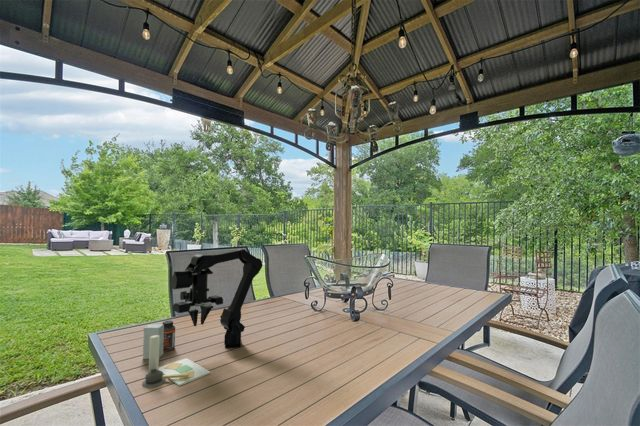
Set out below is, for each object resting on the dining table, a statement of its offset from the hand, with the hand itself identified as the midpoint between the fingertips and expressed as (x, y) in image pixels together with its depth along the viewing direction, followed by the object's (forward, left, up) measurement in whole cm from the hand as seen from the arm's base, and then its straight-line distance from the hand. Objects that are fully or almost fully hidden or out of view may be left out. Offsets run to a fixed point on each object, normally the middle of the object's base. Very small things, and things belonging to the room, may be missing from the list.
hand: (198, 325), depth 119 cm
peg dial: (+8, +16, -11) cm, 21 cm away
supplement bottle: (+14, -9, -12) cm, 21 cm away
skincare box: (+17, -2, -12) cm, 21 cm away
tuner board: (+5, +15, -12) cm, 20 cm away
